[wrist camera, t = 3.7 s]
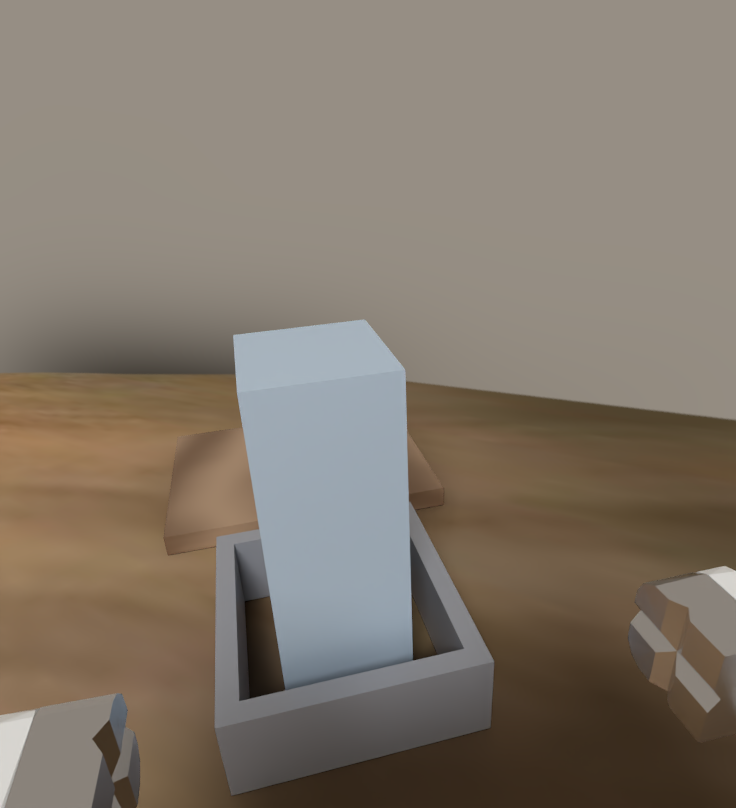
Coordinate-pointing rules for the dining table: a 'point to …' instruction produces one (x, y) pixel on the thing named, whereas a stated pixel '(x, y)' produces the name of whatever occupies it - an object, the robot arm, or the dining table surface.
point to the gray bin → (344, 681)
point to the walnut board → (242, 489)
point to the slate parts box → (330, 495)
